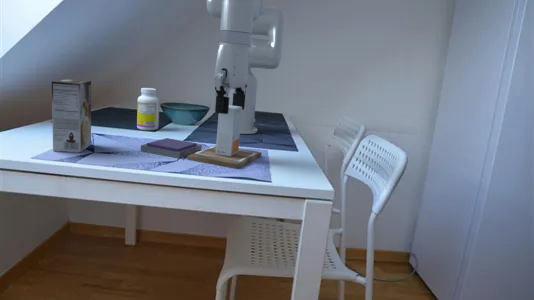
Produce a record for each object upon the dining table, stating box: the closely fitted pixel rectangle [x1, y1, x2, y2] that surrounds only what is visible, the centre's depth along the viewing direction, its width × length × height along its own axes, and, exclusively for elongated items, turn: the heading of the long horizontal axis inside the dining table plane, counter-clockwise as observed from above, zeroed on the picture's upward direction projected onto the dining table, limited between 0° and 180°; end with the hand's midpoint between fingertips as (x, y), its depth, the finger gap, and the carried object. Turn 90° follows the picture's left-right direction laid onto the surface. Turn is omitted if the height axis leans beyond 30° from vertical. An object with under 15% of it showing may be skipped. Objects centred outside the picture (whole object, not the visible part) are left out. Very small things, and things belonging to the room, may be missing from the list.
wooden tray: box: [187, 145, 263, 170], centre depth 103 cm, size 16×13×1 cm
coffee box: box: [51, 78, 92, 153], centre depth 97 cm, size 9×6×16 cm
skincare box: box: [215, 105, 242, 156], centre depth 102 cm, size 6×4×12 cm
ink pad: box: [140, 137, 203, 159], centre depth 105 cm, size 11×11×2 cm
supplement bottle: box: [136, 87, 160, 131], centre depth 129 cm, size 7×7×13 cm
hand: (230, 111), depth 102 cm, fingers open, 9 cm apart
